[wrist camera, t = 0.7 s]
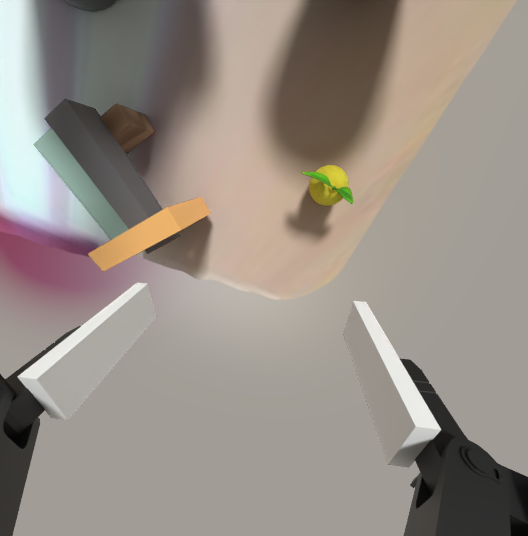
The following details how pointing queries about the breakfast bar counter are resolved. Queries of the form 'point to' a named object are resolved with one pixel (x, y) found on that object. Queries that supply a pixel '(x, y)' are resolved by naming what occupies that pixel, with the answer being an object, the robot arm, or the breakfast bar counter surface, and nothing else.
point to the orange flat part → (149, 232)
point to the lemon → (329, 185)
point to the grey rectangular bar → (105, 163)
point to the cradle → (127, 126)
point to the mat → (80, 183)
